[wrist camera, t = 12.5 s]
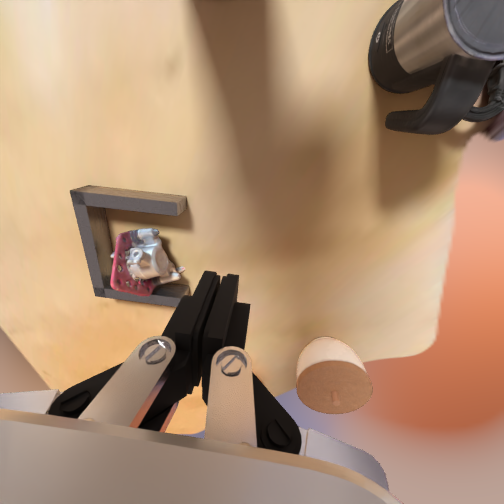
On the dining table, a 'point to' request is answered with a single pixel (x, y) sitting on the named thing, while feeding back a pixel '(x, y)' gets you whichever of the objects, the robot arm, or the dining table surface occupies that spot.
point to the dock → (99, 244)
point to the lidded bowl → (332, 377)
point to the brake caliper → (141, 263)
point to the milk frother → (440, 60)
